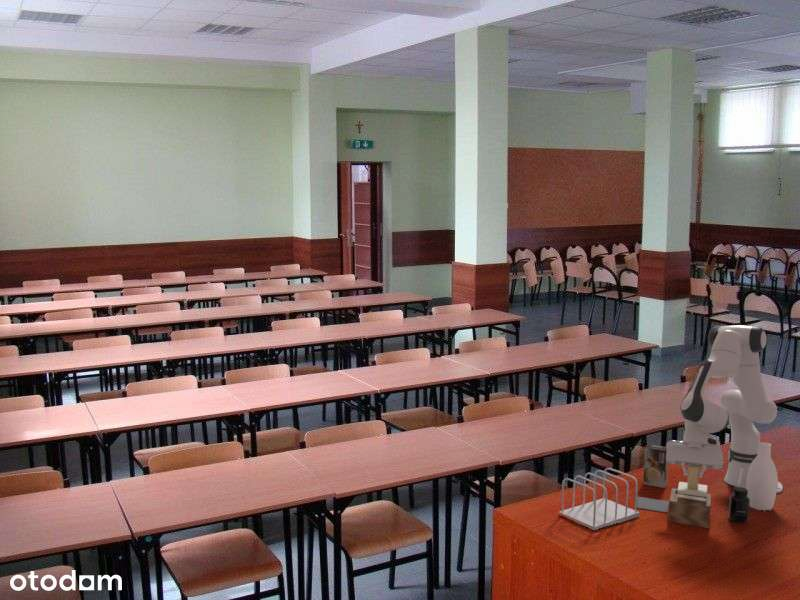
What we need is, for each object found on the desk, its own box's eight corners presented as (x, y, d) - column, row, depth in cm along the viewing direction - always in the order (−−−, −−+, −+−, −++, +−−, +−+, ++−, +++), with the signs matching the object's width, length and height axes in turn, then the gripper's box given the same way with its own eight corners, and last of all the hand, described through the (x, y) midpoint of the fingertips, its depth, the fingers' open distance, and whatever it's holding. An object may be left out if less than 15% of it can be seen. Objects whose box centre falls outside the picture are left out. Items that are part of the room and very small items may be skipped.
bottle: (745, 509, 299) (750, 446, 296) (743, 499, 309) (748, 438, 306) (777, 514, 295) (782, 449, 292) (774, 503, 305) (779, 441, 302)
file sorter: (603, 502, 304) (605, 464, 302) (639, 517, 290) (641, 477, 288) (558, 516, 290) (560, 475, 288) (593, 532, 275) (596, 490, 274)
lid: (707, 487, 291) (708, 464, 290) (706, 497, 282) (707, 473, 281) (679, 484, 295) (680, 461, 294) (677, 493, 286) (678, 469, 285)
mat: (669, 502, 305) (669, 501, 305) (666, 513, 294) (666, 512, 294) (637, 497, 309) (637, 496, 309) (634, 507, 298) (634, 506, 298)
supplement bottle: (739, 524, 284) (742, 493, 283) (724, 518, 290) (726, 487, 289) (752, 521, 287) (754, 490, 286) (736, 515, 293) (739, 484, 292)
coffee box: (667, 483, 326) (669, 446, 324) (665, 488, 320) (667, 451, 318) (645, 479, 330) (647, 443, 328) (642, 484, 324) (644, 447, 322)
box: (709, 514, 293) (711, 494, 292) (708, 528, 281) (710, 507, 280) (670, 508, 299) (672, 488, 298) (668, 521, 286) (669, 500, 285)
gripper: (666, 435, 297) (663, 468, 289) (724, 441, 289) (722, 475, 281) (667, 443, 301) (664, 475, 294) (723, 449, 293) (722, 483, 286)
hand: (693, 475), depth 287 cm, fingers closed on lid, 4 cm apart
